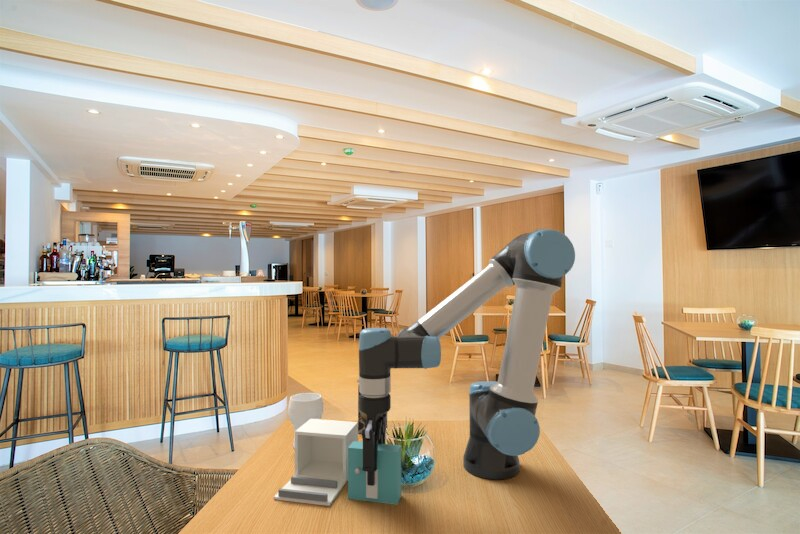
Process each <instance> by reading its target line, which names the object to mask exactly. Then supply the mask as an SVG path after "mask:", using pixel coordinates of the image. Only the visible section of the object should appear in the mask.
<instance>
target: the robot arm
mask: <svg viewBox="0 0 800 534" xmlns="http://www.w3.org/2000/svg"><path fill="white" fill-rule="evenodd" d="M575 260H576V250H575V247H574V245H573V243H572V241H571V240H570V239H569V237H568V236H567V235H566V234H565V233H563V232H561V231H560V230H557V229H553V228H547V229H546V228H541V229H536V230H534V231H532V232H526V233H523V234H520V235H518V236H516V237H515V238H513V239H512V240H511V241H510V242H509V243H508V244H506V245H505V246H504V247H503V248H502V249H500V250H499V252H497V253H496V254H494V255H493V256H492V257H491V258H490V259H489V260H488V265H487V266H486V267H484V268H483V269H481V270H480V271H479V272H477V273H476V274H475V275H473V277H471V278H470V279H469V280H468V281H466V282H465V283H464V284H462V285H461V286H460V287H458V288H457V289H456V290H455V291H453V292H452V293H451V294H450V295H448V296H447V297H445V298H444V299H443V300H442V301H440V302H439V303H438V304H437V305H435V306H434V307H433V308H432V309H431V310H429V311H427V313H426V314H424V315H423V316H422V317H420V318H419V319H418V320H417V321H415V322H414V323H412V324H411V325H410V326H409V327H406V328H402V329H401V330H400V331H398V334H397V336H393V335H392V334H391V330H390V329H389V328H386V327H368V328H363V329H362V330H361V331H360V333H359V340H358V371H359V372H358V375H359V376H358V377H359V378H357V379H356V382H357V383H359V384H358V385H359V392H360V393H361V394H360V395H359V410H360V411H361V412H363V413H365V414H366V415H367V417H366V419H365V429H362V433H361V435H362V442H363V468H362V470H363V471H366V498H374V499H377V498H378V469H377V452H378V444H386V435H387V434H386V432H387V430H386V415H387V416H388V412H389V411H390V410H391V408H392V407H391V403H392V401H391V399H392V398H391V394H390V393H391V390H392V388H391V387H392V386H391V376H392V375H391V369H424V370H425V369H426V370H427V369H431V368H438V367H439V366H440V365H441V361H442V347H441V341H440V339H441V338H443V336H445V335H446V334H447V333H449V332H450V331H452V330H453V329H454V328H455V327H456V326H457V325H459V324H460V323H461V322H463V321H464V320H466V319H467V318H468V317H469V316H470V315H472V314H473V313H474V312H476V311H477V310H478V309H479V308H481V307H482V306H484V304H486V303H487V302H488V301H490V299H492V298H494V297H495V296H496V295H497V294H498V293H500V292H501V291H503V289H505V288H507V287H508V288H509V287H510V288H513V286H516V289H515V290H516V291H515V295H514V300H513V304H512V305H513V306H512V310H511V314H510V319H509V325H508V329H507V334H506V339H505V344H504V348H503V353H502V358H501V364H500V368H499V373H498V376H497V377H498V378H497V381H493V380H491V381H487V380H485V381H484V380H483V381H475V382H472V383H471V384H470V386H469V393H468V396H469V398H468V399H469V401H468V402H469V403H468V404H469V437H468V441H467V444H466V447H465V450H464V452H463V457H462V459H463V461H462V464H463V468H464V469H465V471H466V472H468V473H469V474H470V475H473V476H476V477H479V478H483V479H487V480H488V479H489V480H506V479H510V478H513V477H515V476H516V475H518V474H519V473H520V470H521V467H520V458H519V456H522V455H524V454H526V453H527V452H528V451H529V452H530V451H531V450H532V449H533V448H534V447H535V445H536V444H537V443H538V441H539V437H540V432H541V429H540V423H539V421H538V418H537V417H536V413H537V407H538V403H539V399H538V397H537V396H536V395H535V393H534V387H535V383H536V379H537V373H538V369H539V368H538V367H539V364H540V359H541V354H542V348H543V343H544V340H545V335H546V334H545V333H546V329H547V324H548V319H549V314H550V310H551V309H550V308H551V304H552V301H553V300H552V299H553V295H554V294H555V293H557V292H558V291H560V290H561V289H562V284H563V281H564V280H563V279H564V276H565V275H568V273H569V272H570V271H571V270H572V269H573V267H574V264H575ZM386 412H387V414H386Z"/></svg>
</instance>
